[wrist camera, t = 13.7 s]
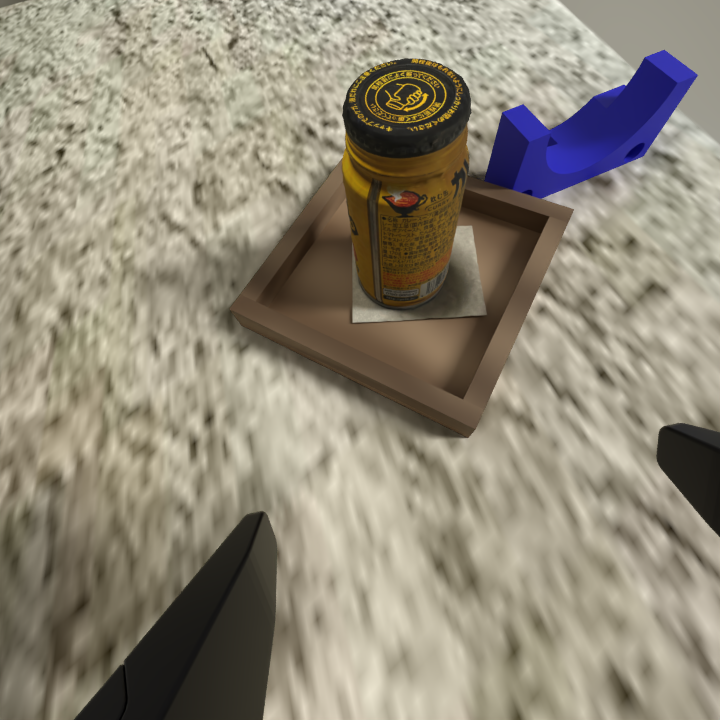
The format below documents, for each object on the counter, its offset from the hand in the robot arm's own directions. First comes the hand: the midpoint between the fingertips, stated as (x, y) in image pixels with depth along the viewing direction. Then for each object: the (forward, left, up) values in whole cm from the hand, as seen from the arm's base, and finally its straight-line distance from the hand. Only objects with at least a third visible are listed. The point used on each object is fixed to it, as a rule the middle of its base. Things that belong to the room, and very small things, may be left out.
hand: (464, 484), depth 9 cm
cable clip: (+27, +2, -14) cm, 31 cm away
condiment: (+13, +7, -13) cm, 20 cm away
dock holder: (+13, +8, -14) cm, 20 cm away
